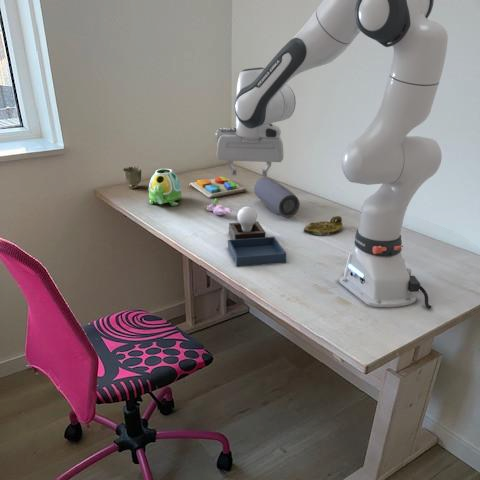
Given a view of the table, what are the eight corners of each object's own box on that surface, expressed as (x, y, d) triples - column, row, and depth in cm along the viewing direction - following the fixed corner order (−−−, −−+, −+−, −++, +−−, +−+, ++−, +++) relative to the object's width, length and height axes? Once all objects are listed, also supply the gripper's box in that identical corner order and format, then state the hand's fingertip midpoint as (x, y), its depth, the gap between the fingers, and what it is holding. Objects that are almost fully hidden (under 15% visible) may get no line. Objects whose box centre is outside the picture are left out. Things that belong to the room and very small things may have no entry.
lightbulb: (259, 238, 168) (261, 206, 162) (249, 244, 163) (250, 211, 157) (243, 233, 170) (244, 202, 165) (233, 240, 166) (233, 207, 160)
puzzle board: (211, 199, 200) (211, 190, 198) (188, 186, 213) (187, 178, 211) (247, 192, 208) (247, 184, 206) (223, 180, 221) (223, 172, 219)
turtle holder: (141, 210, 188) (139, 178, 181) (155, 195, 203) (152, 165, 196) (174, 212, 186) (172, 180, 180) (185, 197, 202) (184, 167, 195)
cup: (124, 185, 212) (121, 166, 208) (141, 184, 214) (139, 165, 210) (126, 191, 206) (124, 171, 202) (144, 189, 208) (142, 170, 204)
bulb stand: (265, 244, 164) (265, 232, 161) (234, 246, 162) (235, 234, 159) (257, 232, 172) (257, 221, 170) (228, 234, 170) (228, 223, 168)
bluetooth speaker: (300, 219, 183) (302, 192, 178) (276, 222, 180) (278, 194, 175) (273, 199, 201) (275, 174, 196) (252, 202, 198) (253, 176, 193)
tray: (285, 262, 152) (286, 253, 150) (236, 266, 149) (236, 257, 147) (273, 245, 163) (274, 236, 161) (227, 248, 160) (227, 239, 158)
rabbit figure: (201, 213, 190) (221, 219, 178) (200, 197, 187) (220, 202, 176) (216, 210, 193) (236, 216, 181) (214, 195, 190) (235, 200, 178)
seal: (311, 241, 169) (348, 233, 174) (313, 228, 166) (351, 221, 171) (297, 228, 175) (333, 221, 181) (299, 216, 172) (336, 209, 178)
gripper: (214, 129, 146) (214, 177, 153) (285, 131, 145) (282, 179, 153) (216, 125, 151) (216, 171, 158) (284, 127, 151) (281, 173, 158)
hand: (249, 175), depth 156 cm, fingers open, 8 cm apart
